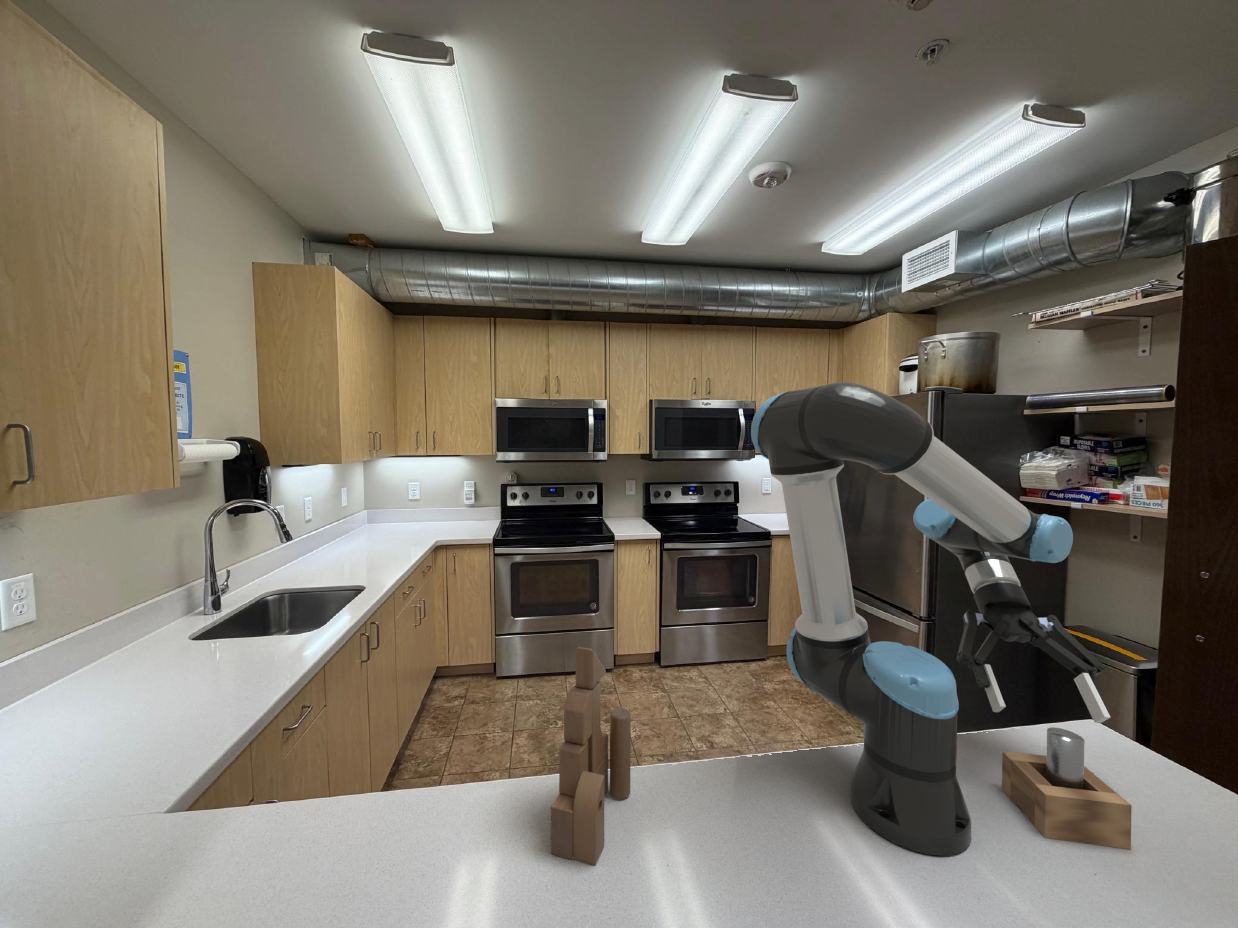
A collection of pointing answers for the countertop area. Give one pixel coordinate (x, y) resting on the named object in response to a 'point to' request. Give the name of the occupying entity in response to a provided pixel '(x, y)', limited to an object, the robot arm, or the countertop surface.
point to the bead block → (1066, 804)
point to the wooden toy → (588, 765)
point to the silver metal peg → (1065, 759)
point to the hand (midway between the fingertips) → (1050, 714)
